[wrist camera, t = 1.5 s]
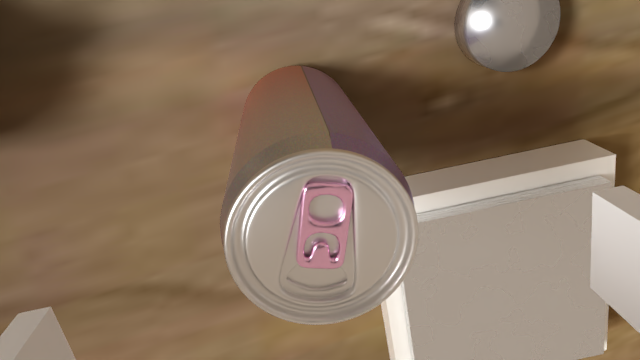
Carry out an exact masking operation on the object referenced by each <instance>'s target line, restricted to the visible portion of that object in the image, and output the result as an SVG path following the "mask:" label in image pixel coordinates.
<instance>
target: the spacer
mask: <svg viewBox="0 0 640 360" xmlns="http://www.w3.org/2000/svg"><path fill="white" fill-rule="evenodd" d="M560 14H561V13H560V4H559V0H461V1H460V3H459V6H458V8H457V11H456V16H455V23H454V29H455V36H456V40H457V43H458V45H459V47H460V49H461V51H462V52H463V53H464V54H465V56H466V57H467V58H469V59H470V60H471V61H473V62H474V63H477V64H479V65H481V66H484V67H487V68H490V69H493V70H496V71H501V72H511V71H517V70H521V69H523V68H526V67H528V66H530V65H531V64H533V63H534V62H536V61H537V60H538V59H540V58H541V57H542V56H543V55H544V54H545V52H546V51H547V50H548V49H549V47H550V46H551V44H552V42H553V41H554V39H555V36H556V34H557V31H558V28H559V23H560Z"/></svg>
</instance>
